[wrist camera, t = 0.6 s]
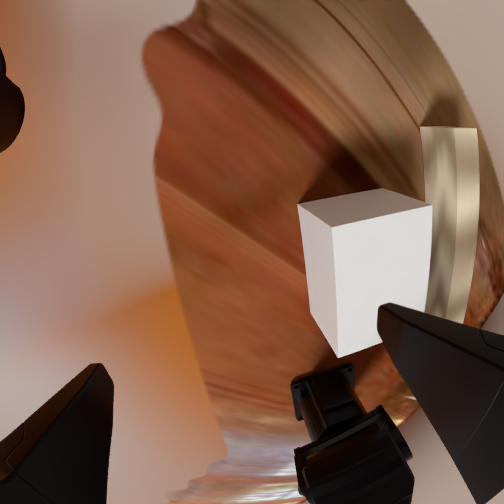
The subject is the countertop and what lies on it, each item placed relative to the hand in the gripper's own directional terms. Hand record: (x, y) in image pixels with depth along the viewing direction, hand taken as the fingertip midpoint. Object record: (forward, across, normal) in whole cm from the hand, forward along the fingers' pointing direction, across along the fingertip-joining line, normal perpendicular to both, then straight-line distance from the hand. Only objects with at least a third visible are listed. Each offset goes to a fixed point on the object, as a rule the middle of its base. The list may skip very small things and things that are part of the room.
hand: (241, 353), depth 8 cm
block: (+13, -9, +3) cm, 16 cm away
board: (+12, -19, +3) cm, 23 cm away
